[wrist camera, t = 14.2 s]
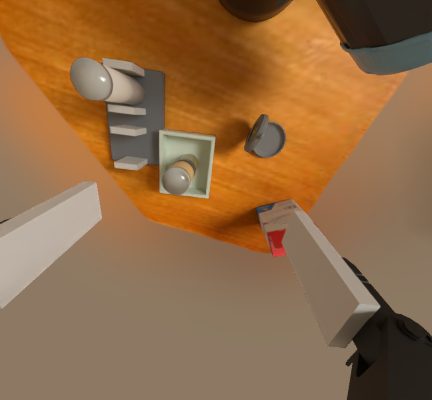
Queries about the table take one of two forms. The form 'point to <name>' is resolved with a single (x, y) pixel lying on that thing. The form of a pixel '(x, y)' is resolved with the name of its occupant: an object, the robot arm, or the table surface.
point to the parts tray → (187, 144)
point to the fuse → (105, 83)
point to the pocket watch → (265, 138)
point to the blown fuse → (180, 174)
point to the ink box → (276, 223)
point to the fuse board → (137, 119)
